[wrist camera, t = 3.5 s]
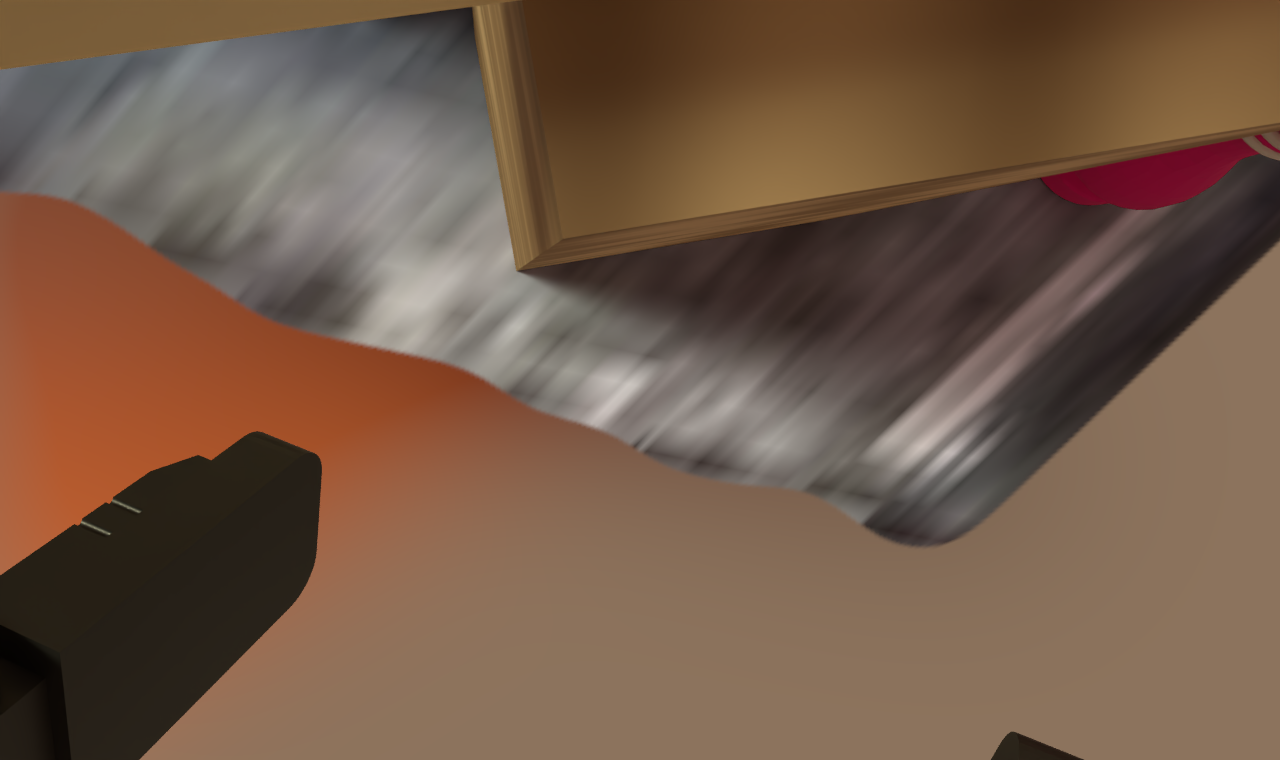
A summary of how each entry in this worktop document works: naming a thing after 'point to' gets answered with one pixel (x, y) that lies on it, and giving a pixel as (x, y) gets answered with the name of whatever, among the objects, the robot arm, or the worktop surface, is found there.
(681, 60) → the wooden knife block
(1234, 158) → the pepper mill
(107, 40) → the film box
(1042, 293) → the worktop surface
